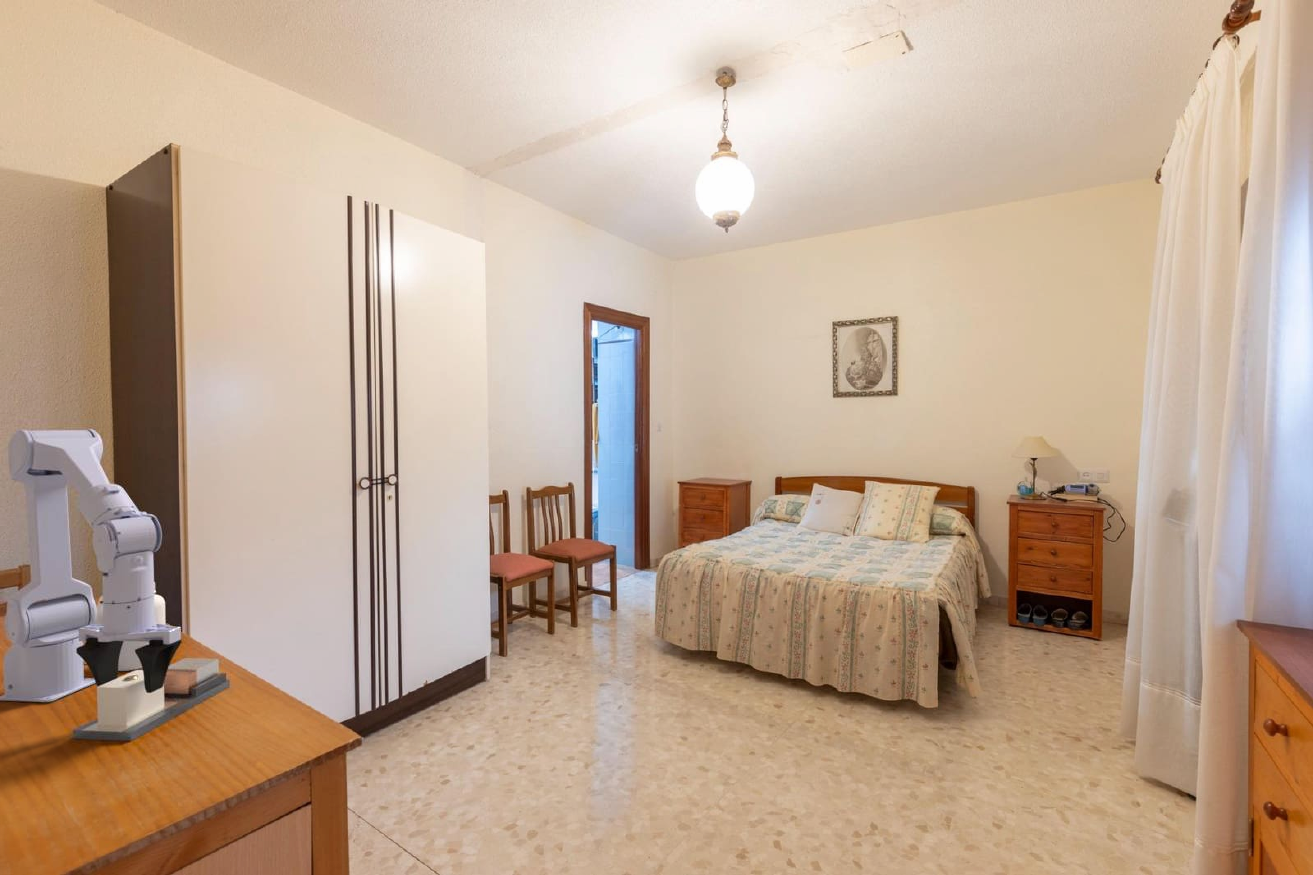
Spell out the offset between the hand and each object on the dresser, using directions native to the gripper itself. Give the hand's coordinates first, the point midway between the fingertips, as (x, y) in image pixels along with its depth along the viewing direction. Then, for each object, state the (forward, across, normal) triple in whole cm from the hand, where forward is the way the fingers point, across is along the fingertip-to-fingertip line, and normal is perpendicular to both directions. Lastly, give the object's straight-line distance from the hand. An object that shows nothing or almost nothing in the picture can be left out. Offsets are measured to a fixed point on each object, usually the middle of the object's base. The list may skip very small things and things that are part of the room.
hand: (131, 689), depth 89 cm
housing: (+4, 0, 0) cm, 4 cm away
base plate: (+5, 0, +4) cm, 7 cm away
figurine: (+6, -29, +23) cm, 38 cm away
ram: (+4, 0, +10) cm, 10 cm away
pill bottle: (+6, -20, +21) cm, 30 cm away
